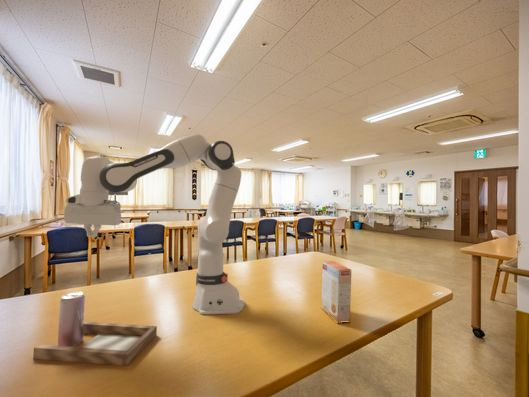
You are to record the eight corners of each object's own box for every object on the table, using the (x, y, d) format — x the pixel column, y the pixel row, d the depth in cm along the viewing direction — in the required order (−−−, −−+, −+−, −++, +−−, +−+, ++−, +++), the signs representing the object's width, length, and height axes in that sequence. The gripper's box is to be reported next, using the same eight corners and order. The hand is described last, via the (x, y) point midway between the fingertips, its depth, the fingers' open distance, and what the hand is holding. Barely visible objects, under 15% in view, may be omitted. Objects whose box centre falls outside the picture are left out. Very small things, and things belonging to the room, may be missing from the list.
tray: (156, 335, 79) (156, 326, 79) (127, 365, 64) (128, 354, 64) (78, 330, 81) (79, 321, 81) (33, 358, 66) (33, 347, 66)
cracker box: (351, 323, 91) (352, 269, 92) (336, 324, 90) (338, 269, 90) (333, 307, 105) (334, 260, 105) (320, 308, 104) (322, 260, 104)
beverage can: (67, 338, 76) (69, 291, 76) (87, 338, 76) (89, 291, 76) (52, 349, 70) (55, 298, 70) (73, 349, 70) (76, 298, 70)
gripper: (126, 200, 91) (124, 236, 90) (76, 198, 92) (74, 234, 92) (114, 200, 85) (112, 238, 84) (61, 198, 86) (59, 236, 86)
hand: (92, 236), depth 88 cm, fingers closed
